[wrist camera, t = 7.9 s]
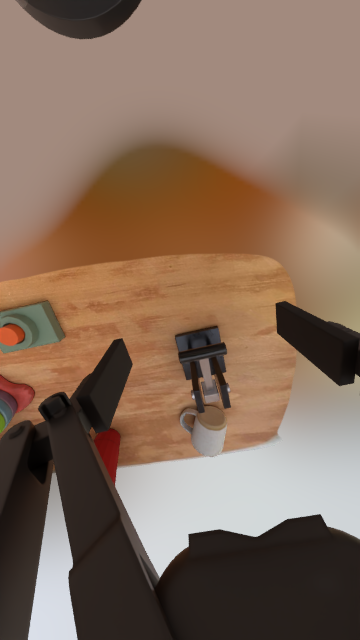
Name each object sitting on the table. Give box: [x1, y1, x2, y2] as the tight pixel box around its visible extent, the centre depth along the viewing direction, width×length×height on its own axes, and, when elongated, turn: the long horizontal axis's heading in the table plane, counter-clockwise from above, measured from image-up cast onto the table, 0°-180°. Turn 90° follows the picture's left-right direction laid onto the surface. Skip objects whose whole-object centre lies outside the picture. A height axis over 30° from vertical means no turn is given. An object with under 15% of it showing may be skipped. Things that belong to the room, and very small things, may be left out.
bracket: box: [175, 326, 231, 414], centre depth 35 cm, size 11×9×14 cm
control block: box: [0, 301, 65, 353], centre depth 36 cm, size 12×8×4 cm, turn 102°
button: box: [0, 324, 25, 346], centre depth 34 cm, size 4×4×2 cm
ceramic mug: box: [180, 406, 227, 457], centre depth 44 cm, size 11×8×8 cm
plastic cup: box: [94, 429, 120, 486], centre depth 44 cm, size 11×11×12 cm
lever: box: [178, 342, 227, 403], centre depth 26 cm, size 13×6×2 cm, turn 13°
